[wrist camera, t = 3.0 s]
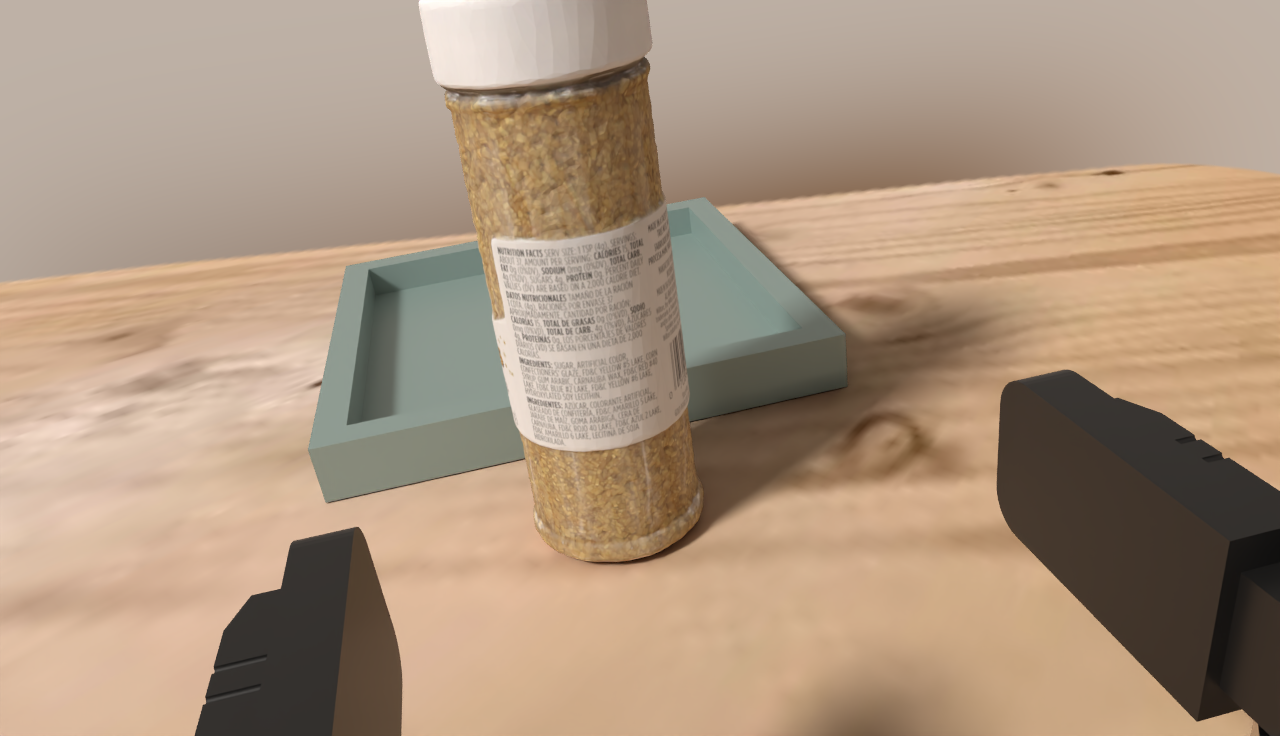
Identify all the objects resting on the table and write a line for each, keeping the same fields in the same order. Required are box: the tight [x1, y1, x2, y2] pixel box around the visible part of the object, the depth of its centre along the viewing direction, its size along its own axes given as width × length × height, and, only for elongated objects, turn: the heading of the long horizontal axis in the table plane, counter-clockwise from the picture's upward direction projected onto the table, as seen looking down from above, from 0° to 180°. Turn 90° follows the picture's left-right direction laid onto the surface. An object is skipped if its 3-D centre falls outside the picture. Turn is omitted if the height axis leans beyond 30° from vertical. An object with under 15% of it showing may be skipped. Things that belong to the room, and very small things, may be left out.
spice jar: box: [419, 0, 704, 562], centre depth 22 cm, size 5×5×14 cm
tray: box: [308, 197, 848, 503], centre depth 35 cm, size 16×16×2 cm
